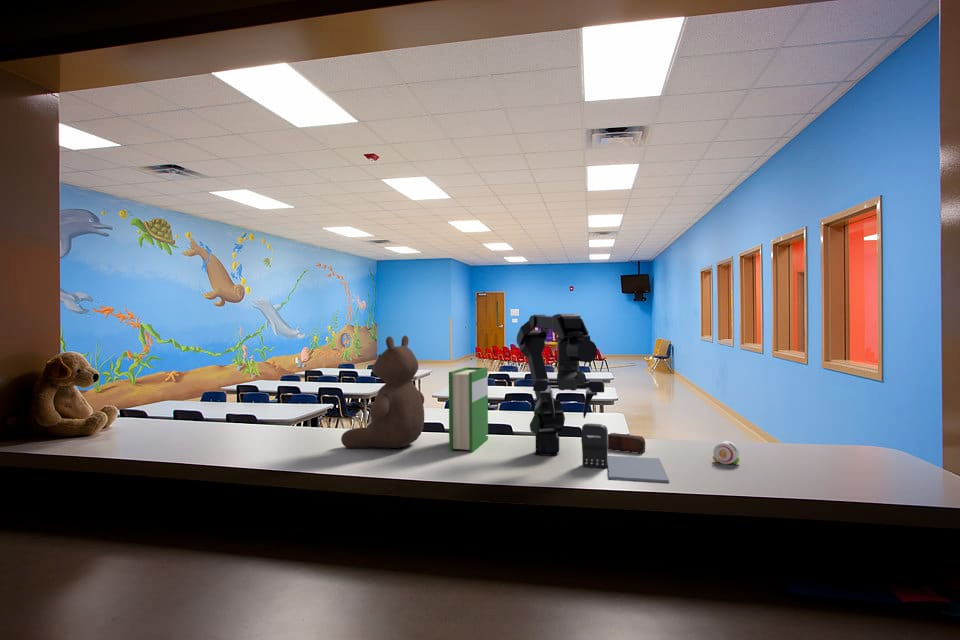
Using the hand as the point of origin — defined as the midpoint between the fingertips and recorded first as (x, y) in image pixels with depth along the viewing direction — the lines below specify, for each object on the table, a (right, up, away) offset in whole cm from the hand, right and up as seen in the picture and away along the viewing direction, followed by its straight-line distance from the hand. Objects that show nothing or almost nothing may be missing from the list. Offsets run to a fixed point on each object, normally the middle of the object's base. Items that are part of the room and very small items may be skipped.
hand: (568, 417), depth 135 cm
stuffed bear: (-55, -14, +24) cm, 61 cm away
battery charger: (+7, -13, -2) cm, 15 cm away
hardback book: (-27, -14, +24) cm, 39 cm away
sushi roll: (+43, -13, +1) cm, 45 cm away
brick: (+20, -13, +15) cm, 29 cm away
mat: (+17, -13, -4) cm, 22 cm away
